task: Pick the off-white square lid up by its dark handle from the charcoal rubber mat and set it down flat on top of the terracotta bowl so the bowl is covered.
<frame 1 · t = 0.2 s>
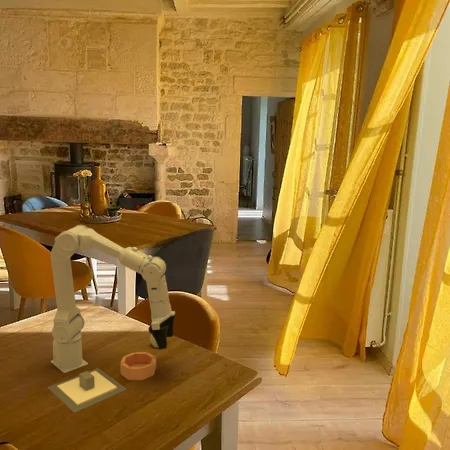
hand: (166, 342, 136), 10 cm above the table, tool pointing down, fingers open, 7 cm apart
bowl: (138, 372, 139), on the table
mat: (87, 389, 129), on the table
salt shaker: (158, 345, 156), on the table
lid: (87, 388, 129), resting on mat
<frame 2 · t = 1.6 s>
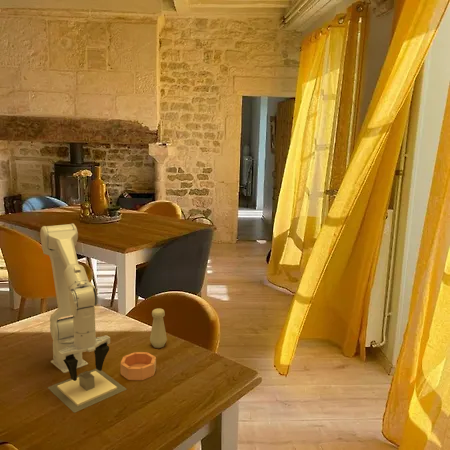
hand: (86, 374, 128), 5 cm above the table, tool pointing down, fingers open, 7 cm apart
nothing on the table moved.
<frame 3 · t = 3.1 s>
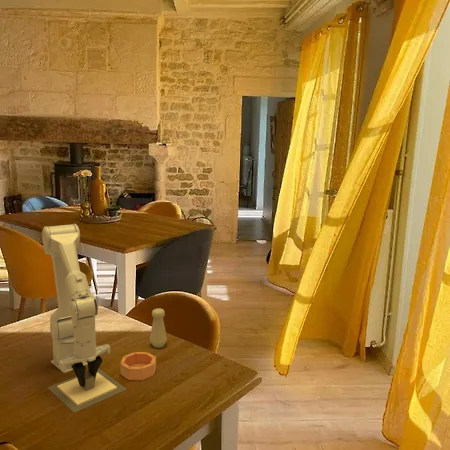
hand: (86, 383, 128), 2 cm above the table, tool pointing down, fingers closed on lid, 2 cm apart
lid: (87, 388, 129), resting on mat, touching gripper
everything else where it was.
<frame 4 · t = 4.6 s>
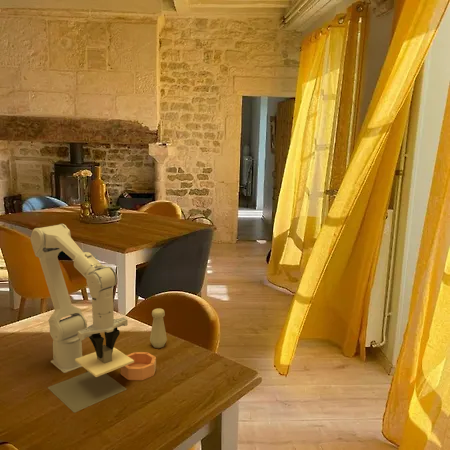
hand: (104, 355, 130), 9 cm above the table, tool pointing down, fingers closed on lid, 2 cm apart
lid: (104, 361, 131), point 7 cm above the table, touching gripper
everything else where it was.
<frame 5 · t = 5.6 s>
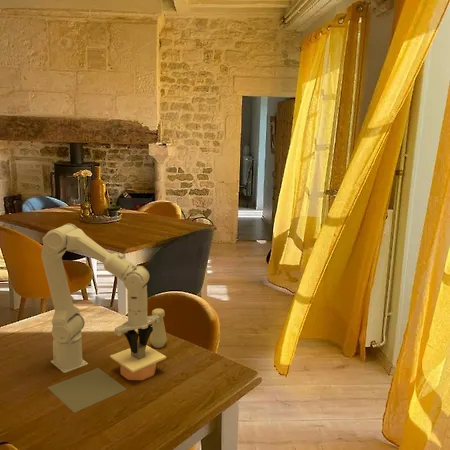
hand: (138, 350, 137), 7 cm above the table, tool pointing down, fingers closed on lid, 2 cm apart
lid: (138, 357, 138), point 5 cm above the table, touching gripper
everything else where it was.
when the fingers open (7 cm above the table, at t = 6.2 s): lid stays where it is, resting on bowl.
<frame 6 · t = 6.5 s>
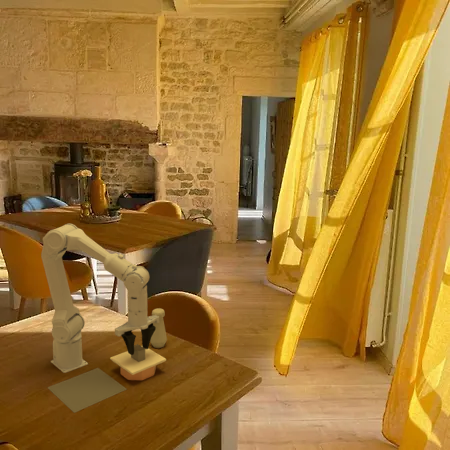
hand: (138, 350, 137), 7 cm above the table, tool pointing down, fingers open, 5 cm apart
lid: (138, 360, 138), point 4 cm above the table, touching bowl
everything else where it was.
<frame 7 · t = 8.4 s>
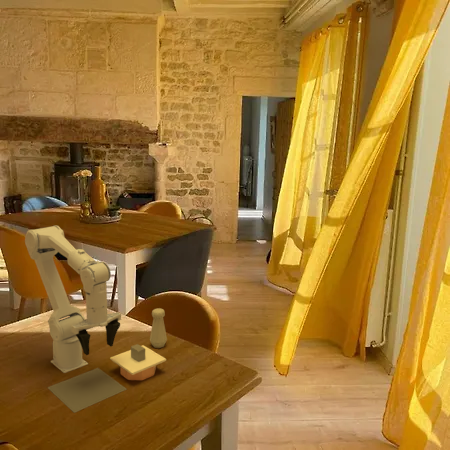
hand: (98, 349, 132), 10 cm above the table, tool pointing down, fingers open, 7 cm apart
nothing on the table moved.
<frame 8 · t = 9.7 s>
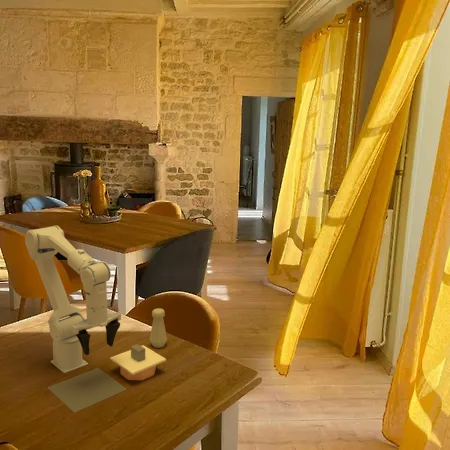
hand: (98, 349, 132), 10 cm above the table, tool pointing down, fingers open, 7 cm apart
nothing on the table moved.
at the end: lid 0.1 cm from the bowl (horizontally); lid point 4.0 cm above the table; lid tilted 0° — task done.
